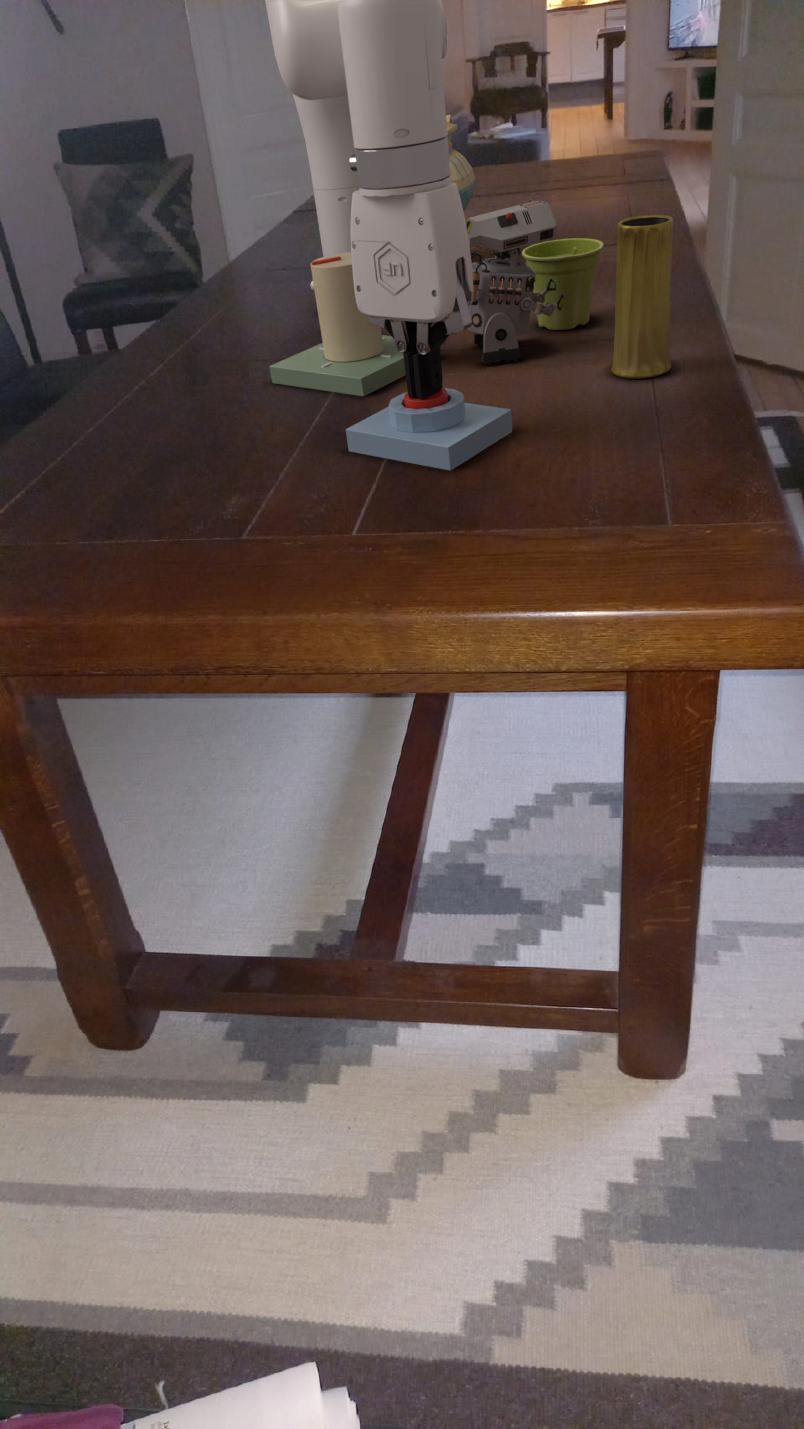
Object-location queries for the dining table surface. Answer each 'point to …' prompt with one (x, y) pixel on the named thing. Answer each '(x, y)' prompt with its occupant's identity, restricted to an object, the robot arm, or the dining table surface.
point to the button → (427, 400)
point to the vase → (643, 297)
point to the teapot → (460, 168)
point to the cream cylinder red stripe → (342, 312)
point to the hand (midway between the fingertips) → (425, 393)
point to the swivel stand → (340, 370)
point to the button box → (430, 432)
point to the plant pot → (565, 278)
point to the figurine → (507, 277)
